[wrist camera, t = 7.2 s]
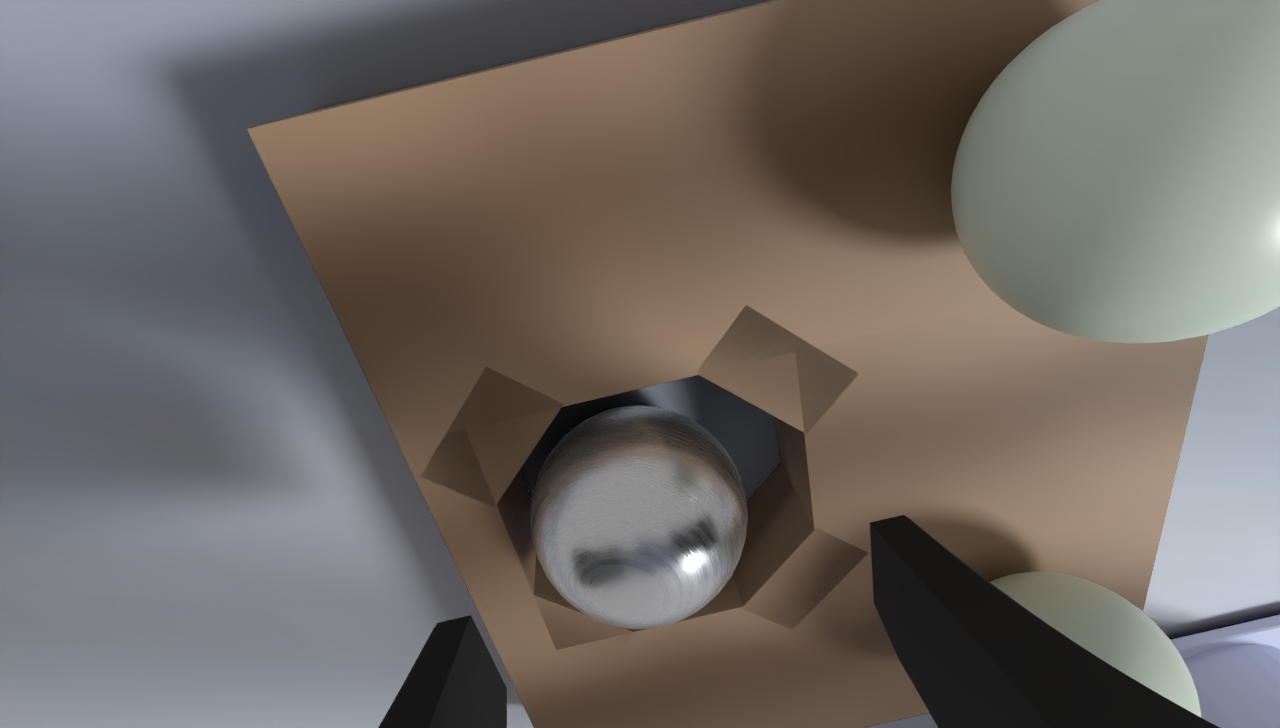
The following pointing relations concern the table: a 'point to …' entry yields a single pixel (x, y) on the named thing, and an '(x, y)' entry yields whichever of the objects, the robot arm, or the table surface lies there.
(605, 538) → the steel ball
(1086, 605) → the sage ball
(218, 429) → the table surface
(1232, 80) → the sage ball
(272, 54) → the table surface
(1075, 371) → the brown flat wooden board
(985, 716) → the robot arm
